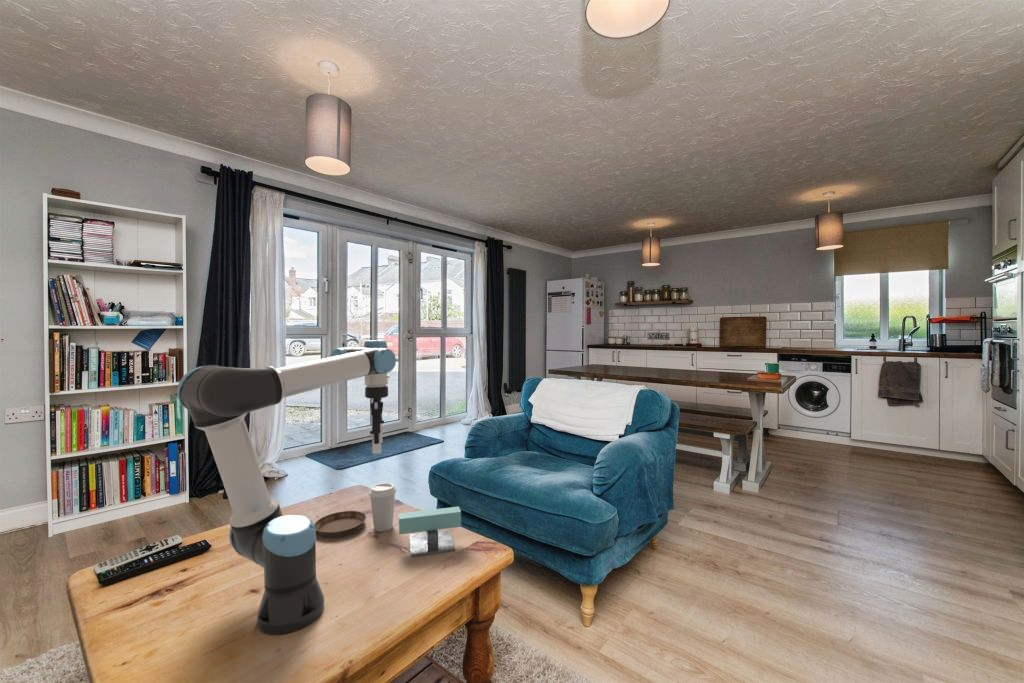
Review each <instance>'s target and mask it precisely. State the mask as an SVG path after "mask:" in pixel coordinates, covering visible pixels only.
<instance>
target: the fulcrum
mask: <svg viewBox="0 0 1024 683" xmlns="http://www.w3.org/2000/svg"><path fill="white" fill-rule="evenodd" d="M453 539H454V538H453V535H452V532H451V528H448V529H440V530H431V531H424V532H417V533H409V547H410V548H409V551H410V558H414V557H415V558H416V557H421V556H429V555H436V554H443V553H451V552H455V551H456V546H455V543H454V540H453Z"/></svg>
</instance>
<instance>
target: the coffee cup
mask: <svg viewBox="0 0 1024 683" xmlns="http://www.w3.org/2000/svg"><path fill="white" fill-rule="evenodd" d="M396 493H397V488H396V487H395V484H393V483H390V482H380V483H377V484H374V485H372V486H371V487H370V490H369V492H368V496H370V503H371V504H370V505H371V506H370V507H371V513H372V522H373V529H374V531H376V532H379V533H381V532H387V531H390V530H391V529H392V528H393V526H394V524H393V523H394V512H395V510H394V509H395V497H396V496H395V495H396Z"/></svg>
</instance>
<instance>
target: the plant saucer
mask: <svg viewBox="0 0 1024 683" xmlns="http://www.w3.org/2000/svg"><path fill="white" fill-rule="evenodd" d="M366 519H367V515H366V514H365V513H363V512H362V511H357V510H344V511H338V512H334V513H330V514H327V515H324V516H322V517H320V519H318V520H316V521H315V523H314V527H315V532H317V533H318V534H320V535H321V536H322V537H325V538H326V537H327V538H337V537H338V538H339V537H344V536H347V535H350V534H353V533H355V532H357V531H359V529H360V528H361V527H362V526H363V525H364V524H365V521H366Z"/></svg>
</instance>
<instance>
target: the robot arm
mask: <svg viewBox="0 0 1024 683" xmlns="http://www.w3.org/2000/svg"><path fill="white" fill-rule="evenodd" d="M387 343H388V342H387V341H386V340H383V339H381V340H380V339H375V340H373V339H372V340H370V339H369V340H365V341H364V343H363V346H355V347H354V346H348V347H347V346H346V347H345V346H344V347H336V348H334V349H332V351H331V353H330V356H329V357H326V358H325V357H324V358H321V359H316V360H311V361H305V362H301V363H297V364H296V363H295V364H291V365H287V366H283V367H282V366H281V367H278V368H275V367H273V366H272V365H267V366H266V365H265V366H259V367H251V368H250V367H249V368H245V367H233V366H229V367H228V366H221V365H217V364H208V365H202V366H197V367H195V368H193V369H190V370H189V371H188V372H187V373H185V374H184V375H183V376H182V378H181V379H180V381H179V382H178V384H177V389H176V396H177V399H178V401H179V403H180V404H181V405H182V406H183V408H185V409H187V410H188V411H189V414H190V416H191V419H192V422H193V425H194V427H195V428H196V429H199V430H201V431H204V432H205V436H206V438H207V441H208V444H209V447H210V449H211V450H210V451H211V452H212V455H213V459H214V462H215V464H216V467H217V470H218V473H219V475H220V478H221V481H222V483H223V486H224V490H225V493H226V495H227V498H228V501H229V504H230V506H231V509H232V512H233V514H232V515H231V517H230V518H229V521H228V522H229V525H230V529H229V534H228V535H229V536H228V537H229V543H230V546H231V547H232V548H233V550H234V551H235V553H237V555H240V556H241V557H244V558H246V559H248V560H250V561H251V562H253V563H255V564H256V565H258V566H260V567H261V568H263V574H264V575H263V578H264V579H263V580H264V592H263V593H262V597H261V600H260V604H259V607H258V611H257V612H256V613H257V615H256V625H257V628H258V629H259V631H260V632H262V633H265V634H267V635H268V634H269V635H284V634H288V633H293V632H297V631H298V630H300V629H304V628H305V627H307V626H309V625H310V624H312V623H314V622H315V621H316V620H317V619H318V618H319V617H320V616H321V614H322V613H323V612H324V610H325V597H324V596H325V595H324V594H323V591H322V588H321V586H320V583H319V581H318V578H317V558H316V556H317V554H316V550H317V549H316V546H317V545H316V539H317V533H316V530H315V527H314V524H315V523H314V522H313V520H312V519H311V518H309V517H307V516H305V515H302V514H296V515H295V514H286V515H283V513H282V510H281V507H280V504H279V500H278V499H275V498H271V497H270V494H269V491H268V487H267V485H266V482H265V478H264V475H263V473H262V470H261V467H260V464H259V460H258V457H257V454H256V451H255V448H254V446H253V442H252V440H251V439H252V438H251V435H250V433H249V430H248V427H247V424H246V421H245V417H246V416H247V415H248V413H251V412H254V411H258V410H262V409H265V408H268V407H271V406H275V405H278V404H280V403H281V402H282V400H283V399H285V398H288V397H292V396H296V395H298V394H299V395H301V394H302V393H306V392H312V391H314V390H318V389H321V388H324V387H328V386H333V385H336V384H340V383H343V382H346V381H347V382H348V381H351V380H355V379H359V378H362V377H364V385H365V387H364V397H365V398H366V399H372V401H371V402H370V412H371V413H370V414H371V417H372V418H371V431H370V430H369V434H370V435H371V436H372V437H371V439H372V440H371V443H372V444H371V446H372V453H371V454H382V443H383V424H385V420H384V419H383V411H384V401H382V399H383V398H387V397H388V396H389V386H388V384H389V379H390V377H391V376H390V374H389V373H391V372H392V371H393V370H394V368H395V366H396V364H397V363H396V362H397V358H396V357H397V356H396V354H395V352H394V351H393V350H392V349H390V348H388V344H387Z"/></svg>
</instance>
